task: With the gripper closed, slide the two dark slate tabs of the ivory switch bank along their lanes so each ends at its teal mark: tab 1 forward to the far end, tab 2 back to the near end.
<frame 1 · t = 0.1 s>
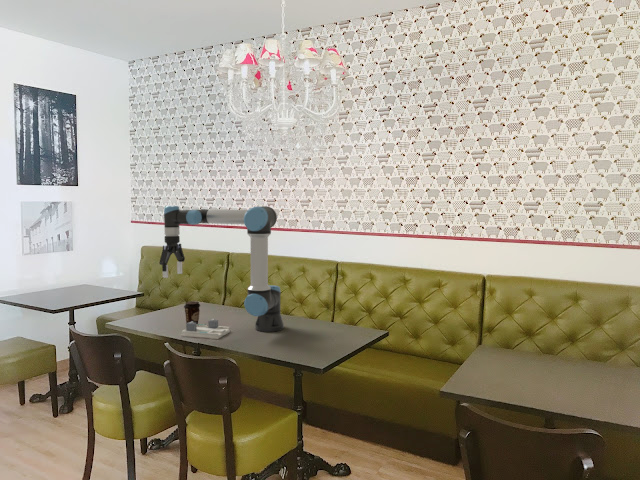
hand: (172, 275, 262), 28 cm above the table, fingers open, 13 cm apart
coffee cup: (192, 326, 267), on the table
tab 1: (213, 324, 256), point 4 cm above the table, slide at 0.0 cm
tab 2: (191, 326, 250), point 4 cm above the table, slide at 8.0 cm
switch bank: (206, 333, 253), on the table
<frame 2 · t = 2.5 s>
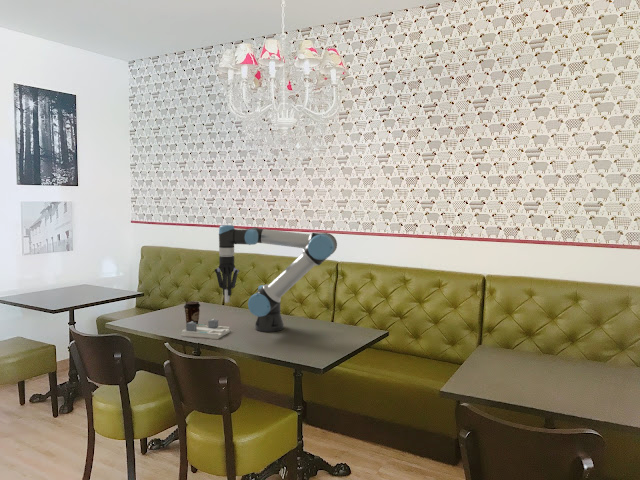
hand: (227, 301, 252), 16 cm above the table, fingers closed
nothing on the table moved.
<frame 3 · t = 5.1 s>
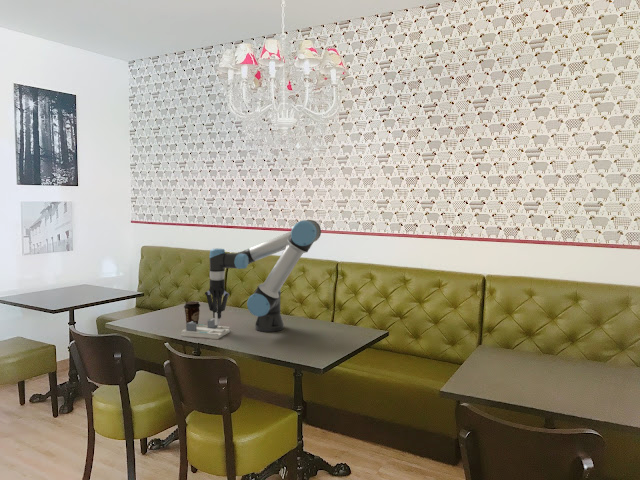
hand: (217, 324, 255), 4 cm above the table, fingers closed
tab 1: (212, 324, 256), point 4 cm above the table, slide at 0.5 cm, touching gripper
everything else where it was.
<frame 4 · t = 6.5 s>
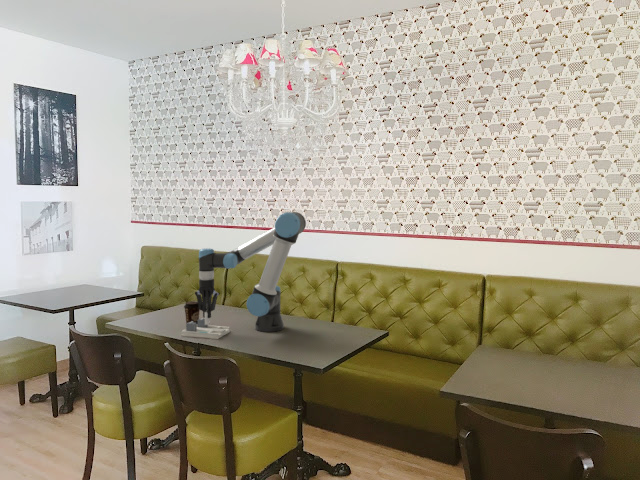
hand: (207, 324, 257), 4 cm above the table, fingers closed
tab 1: (202, 323, 257), point 4 cm above the table, slide at 6.2 cm, touching gripper
everything else where it was.
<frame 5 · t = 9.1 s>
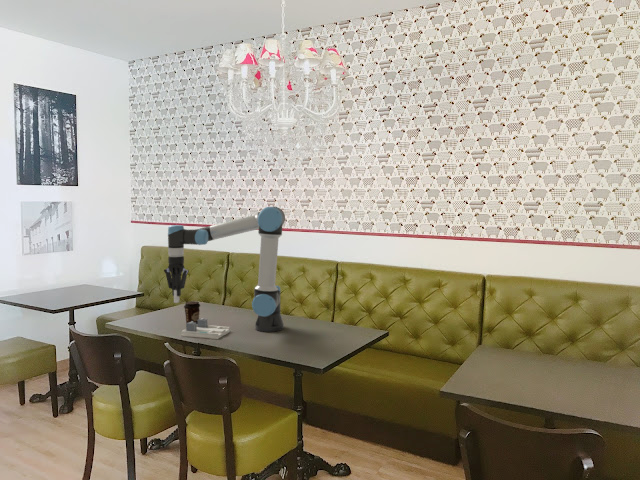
hand: (176, 302, 251), 16 cm above the table, fingers closed
tab 1: (202, 323, 257), point 4 cm above the table, slide at 6.2 cm
everything else where it was.
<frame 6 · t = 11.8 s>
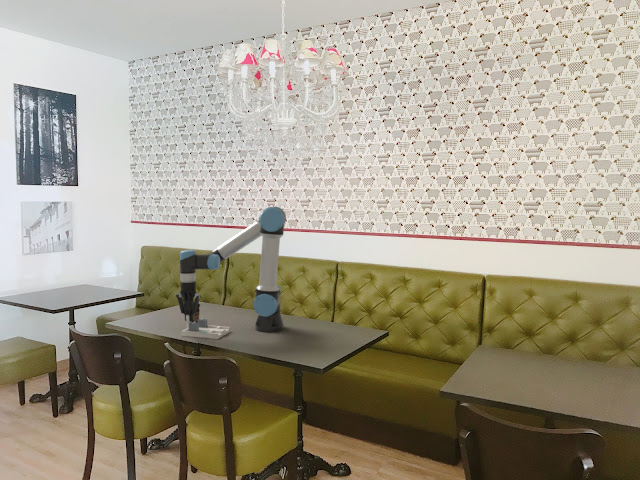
hand: (189, 327, 251), 4 cm above the table, fingers closed
tab 2: (193, 327, 250), point 4 cm above the table, slide at 6.6 cm, touching gripper
everything else where it was.
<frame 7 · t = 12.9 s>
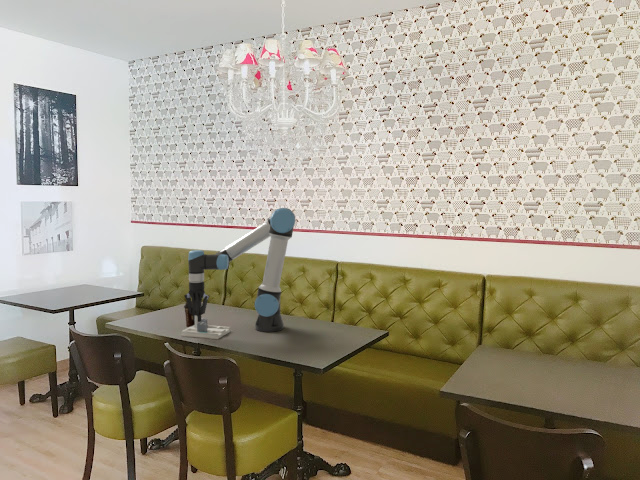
hand: (197, 327, 249), 4 cm above the table, fingers closed
tab 2: (202, 327, 248), point 4 cm above the table, slide at 1.9 cm, touching gripper
everything else where it was.
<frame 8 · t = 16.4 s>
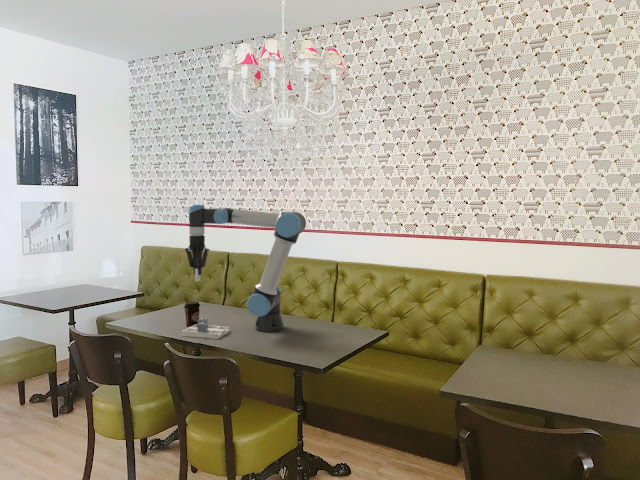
hand: (197, 280, 255), 26 cm above the table, fingers closed
tab 2: (202, 327, 248), point 4 cm above the table, slide at 1.8 cm
everything else where it was.
at the end: tab 1 slide at 6.2 cm; tab 2 slide at 1.8 cm; tab 2 touching nothing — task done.
